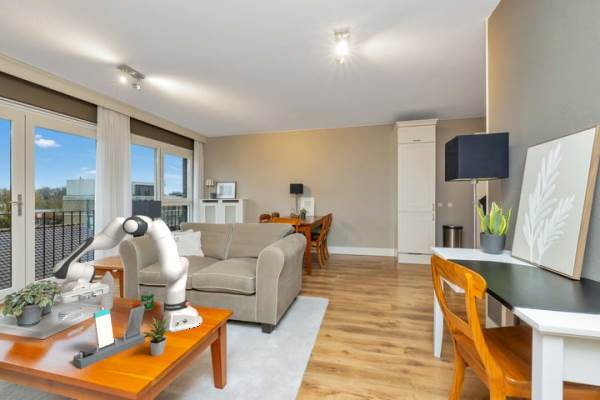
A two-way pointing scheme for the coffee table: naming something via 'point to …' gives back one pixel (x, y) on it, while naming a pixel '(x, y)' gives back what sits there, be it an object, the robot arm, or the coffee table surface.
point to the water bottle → (108, 297)
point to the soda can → (147, 300)
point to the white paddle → (103, 328)
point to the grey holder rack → (108, 350)
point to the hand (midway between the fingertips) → (92, 296)
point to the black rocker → (88, 350)
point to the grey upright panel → (134, 321)
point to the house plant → (157, 337)
